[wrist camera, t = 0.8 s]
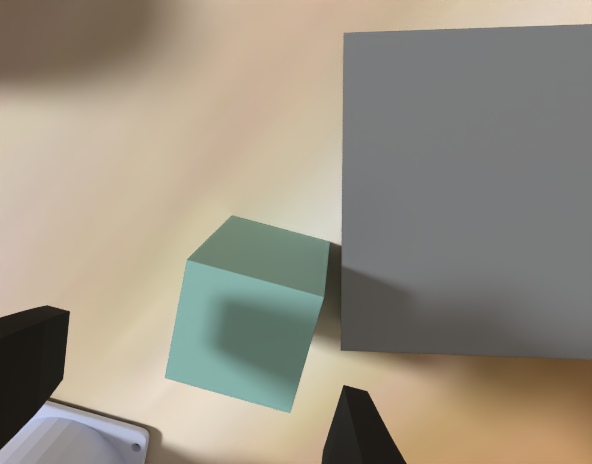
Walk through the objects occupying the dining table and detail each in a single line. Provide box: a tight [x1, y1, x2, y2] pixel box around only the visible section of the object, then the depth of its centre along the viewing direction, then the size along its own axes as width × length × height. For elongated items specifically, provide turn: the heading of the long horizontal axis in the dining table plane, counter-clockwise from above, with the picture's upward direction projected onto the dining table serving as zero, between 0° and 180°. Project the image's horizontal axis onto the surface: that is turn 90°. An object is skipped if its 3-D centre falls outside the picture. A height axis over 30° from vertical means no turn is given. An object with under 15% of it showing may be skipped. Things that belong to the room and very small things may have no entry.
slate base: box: [341, 24, 592, 360], centre depth 17 cm, size 12×12×2 cm
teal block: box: [165, 216, 330, 413], centre depth 18 cm, size 4×4×6 cm
